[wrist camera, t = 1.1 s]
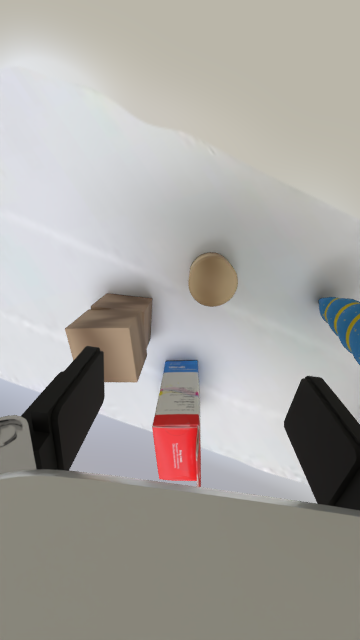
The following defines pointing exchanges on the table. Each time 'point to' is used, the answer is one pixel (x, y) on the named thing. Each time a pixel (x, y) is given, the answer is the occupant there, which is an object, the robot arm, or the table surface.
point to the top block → (112, 340)
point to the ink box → (178, 423)
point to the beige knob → (212, 279)
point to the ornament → (343, 321)
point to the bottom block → (128, 303)
